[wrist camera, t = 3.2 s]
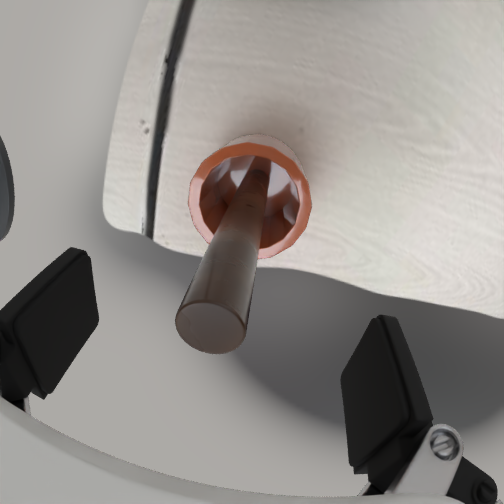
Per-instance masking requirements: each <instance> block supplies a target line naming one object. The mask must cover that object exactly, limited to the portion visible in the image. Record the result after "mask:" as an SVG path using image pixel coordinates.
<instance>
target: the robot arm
mask: <svg viewBox="0 0 504 504" xmlns="http://www.w3.org/2000/svg"><path fill="white" fill-rule="evenodd" d="M98 322H99V315H98V309H97V303H96V296H95V290H94V281H93V274H92V265H91V258H90V257H89V256H88V254H87V252H86V251H84V250H81V249H77V248H73V247H71V248H69V249H67V250H66V251H65V252H64V253H63V254H61V255H60V256H59V257H58V258H57V259H56V260H54V261H53V262H52V263H51V264H50V265H48V266H47V267H46V268H45V269H44V270H43V271H42V272H40V273H39V274H38V275H37V276H36V277H35V278H34V279H33V280H32V281H31V282H29V283H28V284H27V285H26V286H25V287H24V288H23V289H22V290H21V291H20V292H19V293H18V294H17V295H16V296H15V297H13V298H12V300H10V301H9V302H8V303H7V304H6V305H5V306H4V307H3V308H2V309H1V310H0V504H503V503H502V502H501V500H498V501H496V500H497V486H496V483H495V482H494V480H493V479H492V478H491V477H490V476H489V475H487V474H486V473H484V472H483V471H482V470H480V469H479V468H478V467H476V466H475V465H474V464H472V463H471V462H469V461H468V460H467V459H465V458H464V457H463V456H462V455H463V450H464V448H463V441H462V439H461V436H460V435H459V434H458V432H457V431H456V430H454V428H452V427H450V426H448V425H445V424H438V425H434V426H433V424H432V420H433V416H432V414H431V410H430V407H429V404H428V400H427V397H426V394H425V392H424V388H423V386H422V382H421V379H420V377H419V374H418V371H417V368H416V366H415V363H414V360H413V358H412V355H411V352H410V350H409V347H408V344H407V342H406V339H405V337H404V334H403V332H402V329H401V327H400V325H399V322H398V320H397V318H396V317H392V316H386V315H379V316H377V318H373V319H372V320H371V321H370V323H369V325H368V327H367V329H366V331H365V333H364V335H363V337H362V338H361V340H360V342H359V344H358V346H357V348H356V349H355V351H354V353H353V355H352V356H351V358H350V360H349V362H348V364H347V365H346V367H345V369H344V370H343V372H342V375H341V389H342V397H343V405H344V414H345V424H346V434H347V445H348V457H349V464H350V466H353V467H354V474H368V483H367V484H366V485H365V487H364V488H363V489H362V490H361V492H360V493H359V495H357V496H352V497H304V496H285V495H273V494H263V493H254V492H246V491H240V490H234V489H228V488H221V487H217V486H211V485H207V484H202V483H198V482H193V481H189V480H185V479H181V478H177V477H173V476H169V475H166V474H163V473H159V472H156V471H153V470H150V469H147V468H144V467H140V466H137V465H135V464H132V463H129V462H126V461H124V460H121V459H118V458H115V457H113V456H111V455H108V454H106V453H104V452H101V451H99V450H96V449H94V448H92V447H90V446H87V445H85V444H83V443H81V442H79V441H76V440H75V439H73V438H70V437H68V436H66V435H64V434H62V433H61V432H59V431H57V430H55V429H53V428H51V427H49V426H48V425H46V424H44V423H42V422H40V421H39V420H37V419H35V418H34V417H32V416H31V412H30V406H29V399H28V395H29V394H30V392H32V393H33V394H35V395H37V396H38V397H40V398H42V399H45V398H46V396H47V394H51V393H52V392H53V391H54V389H55V388H56V386H57V385H58V383H59V381H60V380H61V378H62V377H63V375H64V374H65V372H66V371H67V369H68V368H69V366H70V365H71V363H72V362H73V360H74V359H75V357H76V355H77V354H78V353H79V351H80V350H81V348H82V347H83V346H84V344H85V343H86V341H87V340H88V338H89V337H90V335H91V334H92V333H93V331H94V330H95V328H96V327H97V325H98Z"/></svg>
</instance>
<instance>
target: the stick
mask: <svg viewBox="0 0 504 504" xmlns="http://www.w3.org/2000/svg"><path fill="white" fill-rule="evenodd" d="M268 188H269V178H268V176H267V175H266V173H264V172H263V171H261V170H257V169H254V170H250V171H249V172H247V173H246V174H245V176H244V178H243V180H242V181H241V183H240V185H239V187H238V189H237V191H236V193H235V195H234V197H233V199H232V201H231V203H230V205H229V207H228V209H227V211H226V212H225V214H224V216H223V218H222V220H221V222H220V224H219V226H218V228H217V230H216V232H215V234H214V236H213V238H212V240H211V242H210V244H209V246H208V249H207V251H206V253H205V255H204V257H203V259H202V261H201V263H200V265H199V267H198V269H197V271H196V273H195V275H194V278H193V280H192V282H191V284H190V286H189V288H188V290H187V292H186V294H185V296H184V299H183V301H182V303H181V305H180V307H179V309H178V312H177V314H176V319H175V324H176V329H177V331H178V333H179V335H180V336H181V338H182V339H183V340H184V341H185V342H186V343H187V344H189V345H190V346H191V347H193V348H195V349H197V350H199V351H202V352H205V353H210V354H224V353H228V352H231V351H233V350H235V349H236V348H238V347H239V346H240V345H241V344H242V342H243V341H244V339H245V336H246V330H247V324H248V318H249V311H250V305H251V299H252V291H253V285H254V279H255V273H256V266H257V260H258V254H259V247H260V241H261V234H262V227H263V221H264V214H265V208H266V201H267V195H268Z"/></svg>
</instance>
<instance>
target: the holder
mask: <svg viewBox="0 0 504 504" xmlns="http://www.w3.org/2000/svg"><path fill="white" fill-rule="evenodd" d="M254 169H257V170H261V171H263V172H264V173H266V175H267V176H268V178H269V188H268V195H267V201H266V208H265V214H264V221H263V227H262V234H261V241H260V247H259V254H258V259H262V258H269V257H272V256H275V255H276V254H278V253H280V252H282V251H284V250H285V249H287V248H289V247H291V246H292V245H293V244H294V243H295V241H296V240H297V239H298V238H299V237H300V235H301V234H302V233H303V231H304V230H305V229H306V227H307V223H308V219H309V216H310V212H311V208H312V202H311V196H310V190H309V184H308V181H307V178H306V175H305V173H304V170H303V167H302V165H301V163H300V161H299V160H298V158H297V156H296V155H295V153H294V152H293V151H292V149H291V148H289V147H288V146H287V145H286V144H285V143H283V142H282V141H280V140H278V139H276V138H274V137H271V136H267V135H261V134H251V135H245V136H242V137H238V138H236V139H234V140H232V141H231V142H229V143H228V144H226V145H225V146H223V147H222V148H221V149H219V150H218V151H216V152H215V153H213V154H212V155H211V156H209V157H208V158H207V159H205V160H204V161H203V162H202V163H201V165H200V166H199V168H198V170H197V172H196V173H195V175H194V177H193V178H192V180H191V182H190V190H189V199H188V206H189V210H190V213H191V217H192V220H193V223H194V226H195V228H196V229H197V230H198V231H199V233H200V234H201V235H202V237H203V238H204V239H205V240H206V242H207V243H209V244H210V242H211V240H212V238H213V236H214V234H215V232H216V230H217V228H218V226H219V224H220V222H221V220H222V218H223V216H224V214H225V212H226V211H227V209H228V207H229V205H230V203H231V201H232V199H233V197H234V195H235V193H236V191H237V189H238V187H239V185H240V183H241V181H242V180H243V178H244V176H245V174H246V173H247V172H249V171H250V170H254Z"/></svg>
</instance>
